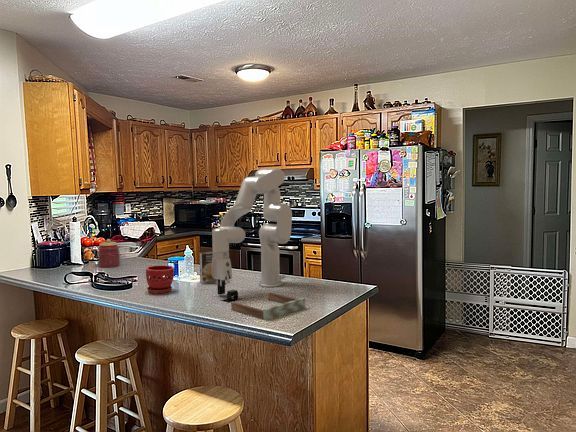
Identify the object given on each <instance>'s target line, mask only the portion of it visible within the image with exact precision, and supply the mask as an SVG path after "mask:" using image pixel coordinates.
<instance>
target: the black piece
mask: <svg viewBox="0 0 576 432" xmlns="http://www.w3.org/2000/svg"><path fill="white" fill-rule="evenodd" d="M243 299H244V297H239V292H238V290H237V289H230V290H227V293H226V298H224V299H222V300H220V302H223V303H224V302H225V303H227V304H229V303H233V302H237V301H240V300H243Z"/></svg>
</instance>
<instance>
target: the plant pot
mask: <svg viewBox="0 0 576 432" xmlns="http://www.w3.org/2000/svg"><path fill="white" fill-rule="evenodd" d="M174 273H175V268H174V267H173V266H171V265H163V264H161V265H152V266H151V265H150V266H147V267H146V268H145V278H146V283H147V285H148V287H146V290H147V291H148V292H149V293H152V294H165V293H168V292H170V291H171V290H172V289H173V287H172V284H173V281H174V276H175V275H174Z"/></svg>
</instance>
